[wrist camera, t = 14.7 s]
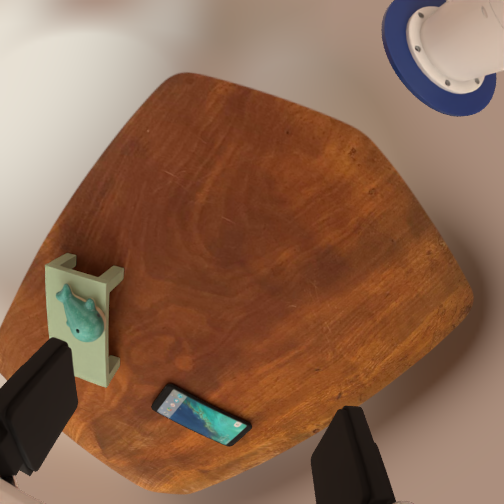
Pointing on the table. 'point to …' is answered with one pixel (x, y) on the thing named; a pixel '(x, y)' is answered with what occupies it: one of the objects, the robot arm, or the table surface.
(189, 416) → the smartphone
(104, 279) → the miniature table
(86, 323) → the whale figurine
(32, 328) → the table surface
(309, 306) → the table surface
